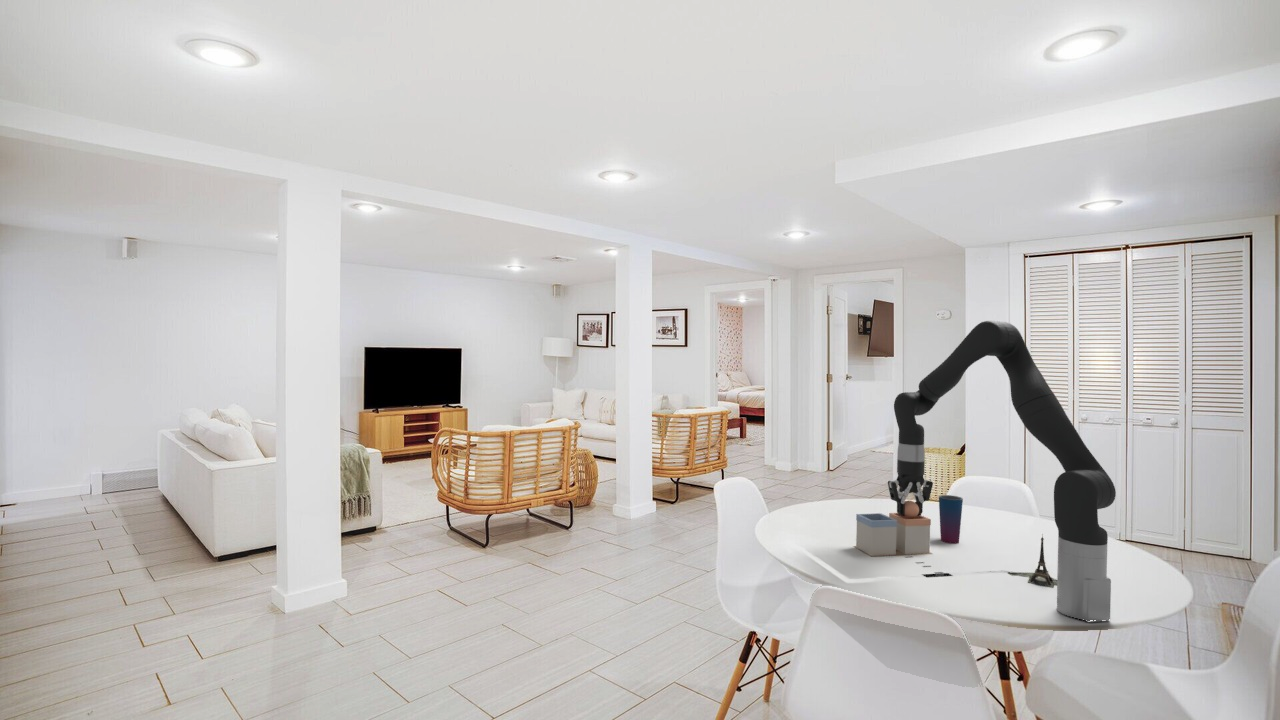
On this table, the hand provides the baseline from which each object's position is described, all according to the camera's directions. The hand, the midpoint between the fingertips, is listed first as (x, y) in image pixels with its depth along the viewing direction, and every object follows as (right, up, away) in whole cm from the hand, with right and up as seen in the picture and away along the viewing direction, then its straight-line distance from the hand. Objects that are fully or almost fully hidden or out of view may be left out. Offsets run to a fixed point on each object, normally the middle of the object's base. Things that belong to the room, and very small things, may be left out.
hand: (909, 514), depth 185 cm
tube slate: (-11, -10, -2) cm, 15 cm away
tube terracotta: (0, -10, 0) cm, 10 cm away
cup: (+17, -12, +9) cm, 23 cm away
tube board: (-6, -11, -1) cm, 13 cm away
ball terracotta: (0, -1, 0) cm, 1 cm away
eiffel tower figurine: (+25, -13, -23) cm, 36 cm away
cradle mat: (-2, -12, -14) cm, 18 cm away
